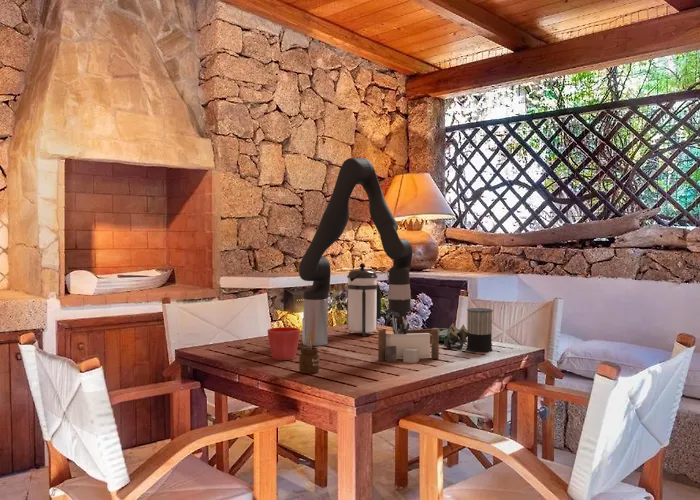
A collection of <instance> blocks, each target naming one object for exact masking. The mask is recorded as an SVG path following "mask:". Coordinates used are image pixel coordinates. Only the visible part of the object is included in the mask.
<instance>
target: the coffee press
mask: <svg viewBox="0 0 700 500" xmlns="http://www.w3.org/2000/svg"><path fill="white" fill-rule="evenodd" d="M365 267H366V264H365V263H364V262H363V263H361V262H360V263H359V268H357V269H356V268H355V269H351V270H350V271H348V275H346V277H347V278H346V279H347V286H346V288H347V292H346V293H347V295H346V296H347V301H346V302H347V303H346V304H347V305H346V306H347V310H346V314H347V317H346V321H347V322H346V324H347V325H346V329H345V330H344V332H343V333H344V335H346V336H347V335H348V334H350V333H359V334H361V336H362V338H366V336H367V335H366V334H367V333H375V334H376V335H378V333H377V332H376V330H377V331H378V330H379V329H378V319H380V316H381V309H382V303H381V302H382V291H381V287H380V285H379V284H378V283H377V281H378V280H377V279H378V275H377V272H376V271H374V270H373V269H365ZM347 330H348V332H347ZM346 332H347V333H346Z"/></svg>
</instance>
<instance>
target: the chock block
mask: <svg viewBox="0 0 700 500" xmlns="http://www.w3.org/2000/svg"><path fill="white" fill-rule="evenodd" d="M402 360H403V363H410V364H416V363H418V362H420V358H419V349H417V348H406V349H404V350H403V359H402Z"/></svg>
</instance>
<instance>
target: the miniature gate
mask: <svg viewBox="0 0 700 500" xmlns="http://www.w3.org/2000/svg"><path fill="white" fill-rule="evenodd" d="M412 333H429V334H430V342H431V339H432V328H425V329H424V328H423V329H422V328H421V329H408V332H407V334H412ZM450 337H454V338H458V339H460V340H462V341H463V342H464V343H465V341H466V339H468V329H467V328H466V327H465V324H462V325H461V327H460V328H457V327H456V324H455V323H454V322H452V324H451V325H450V327H449V328H447V327H446V328H439V342H444V341H445V340H446V339H447V338H450ZM452 342H453V343H454V344H455V341H452Z"/></svg>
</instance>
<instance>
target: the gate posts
mask: <svg viewBox="0 0 700 500" xmlns="http://www.w3.org/2000/svg"><path fill="white" fill-rule="evenodd" d="M431 329H432V339H431V341H430V358H431V360H439V358H440V357H439V355H440V354H439V349H440V347H439V345H440V341H439V329H440V328H438V327H432V328H431ZM377 332H378V333H377V335H378V336H377V337H378V338H377V340H378V341H377V344H378V346H377V348H378V349H377V350H378V352H377V355H378V356H377V362H378V361H379V362H386V363H397V359H396V346H386V334H387V330H386V329H378V330H377Z"/></svg>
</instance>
